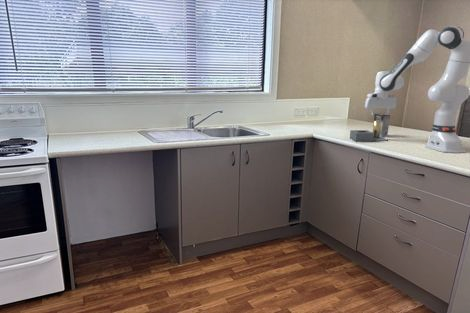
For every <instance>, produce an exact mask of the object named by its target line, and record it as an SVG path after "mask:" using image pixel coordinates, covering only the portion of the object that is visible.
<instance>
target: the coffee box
mask: <svg viewBox="0 0 470 313" xmlns="http://www.w3.org/2000/svg"><path fill="white" fill-rule="evenodd" d="M373 116H374V118H373V122H374V121H377V120H378V121H380V135H379V137H382V138H387V137H388V136H389V128H390V119H391V114H388V115H385V113H375V114H374V115H373ZM373 131H374V124H373V127H372V132H373Z"/></svg>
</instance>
